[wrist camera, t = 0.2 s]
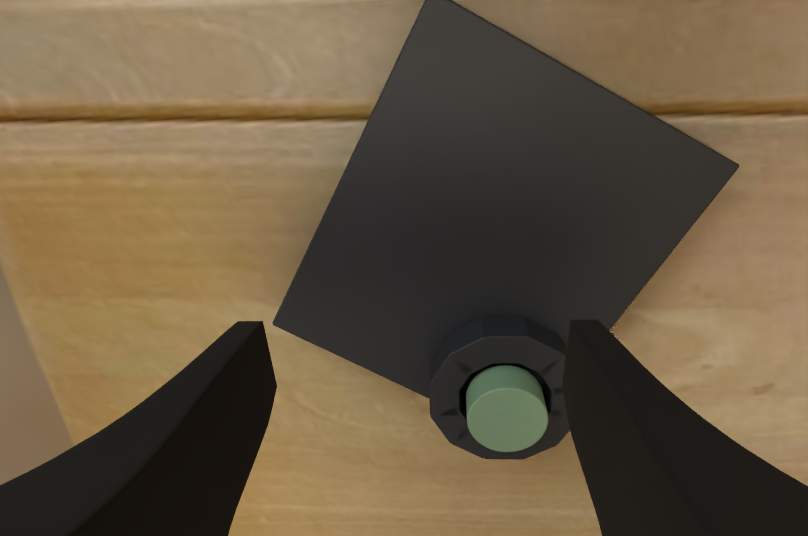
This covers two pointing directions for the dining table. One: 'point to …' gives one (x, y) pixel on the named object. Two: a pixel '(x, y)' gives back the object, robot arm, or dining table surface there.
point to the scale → (492, 219)
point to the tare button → (506, 408)
